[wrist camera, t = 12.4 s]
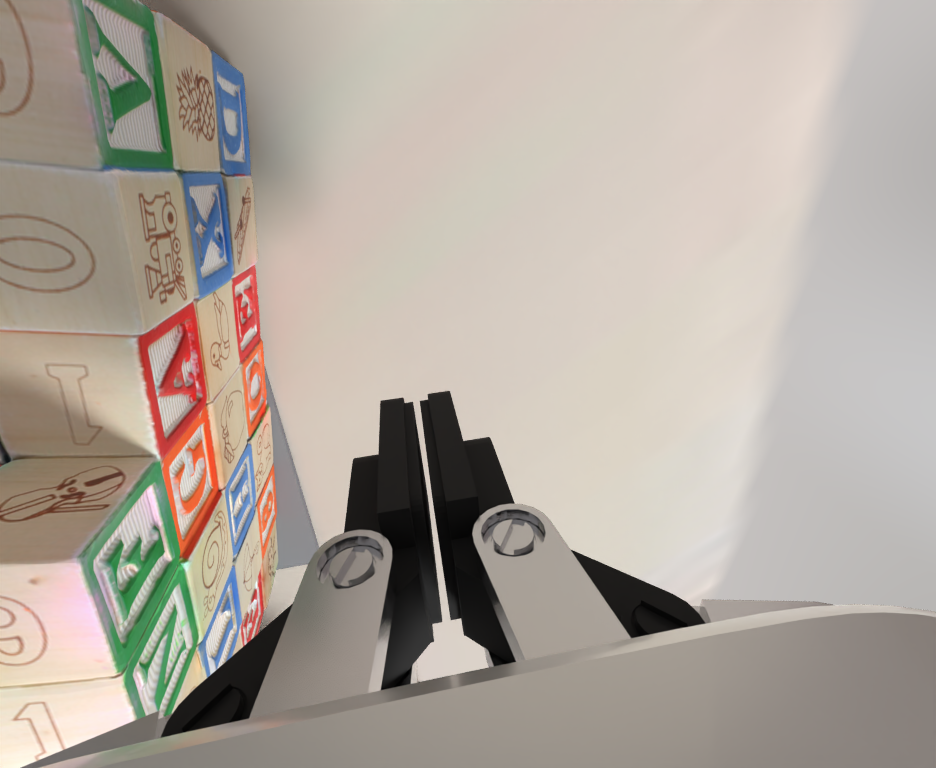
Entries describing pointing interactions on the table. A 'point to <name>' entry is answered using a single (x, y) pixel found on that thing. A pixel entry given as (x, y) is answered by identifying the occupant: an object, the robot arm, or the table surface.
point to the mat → (289, 499)
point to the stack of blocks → (124, 373)
